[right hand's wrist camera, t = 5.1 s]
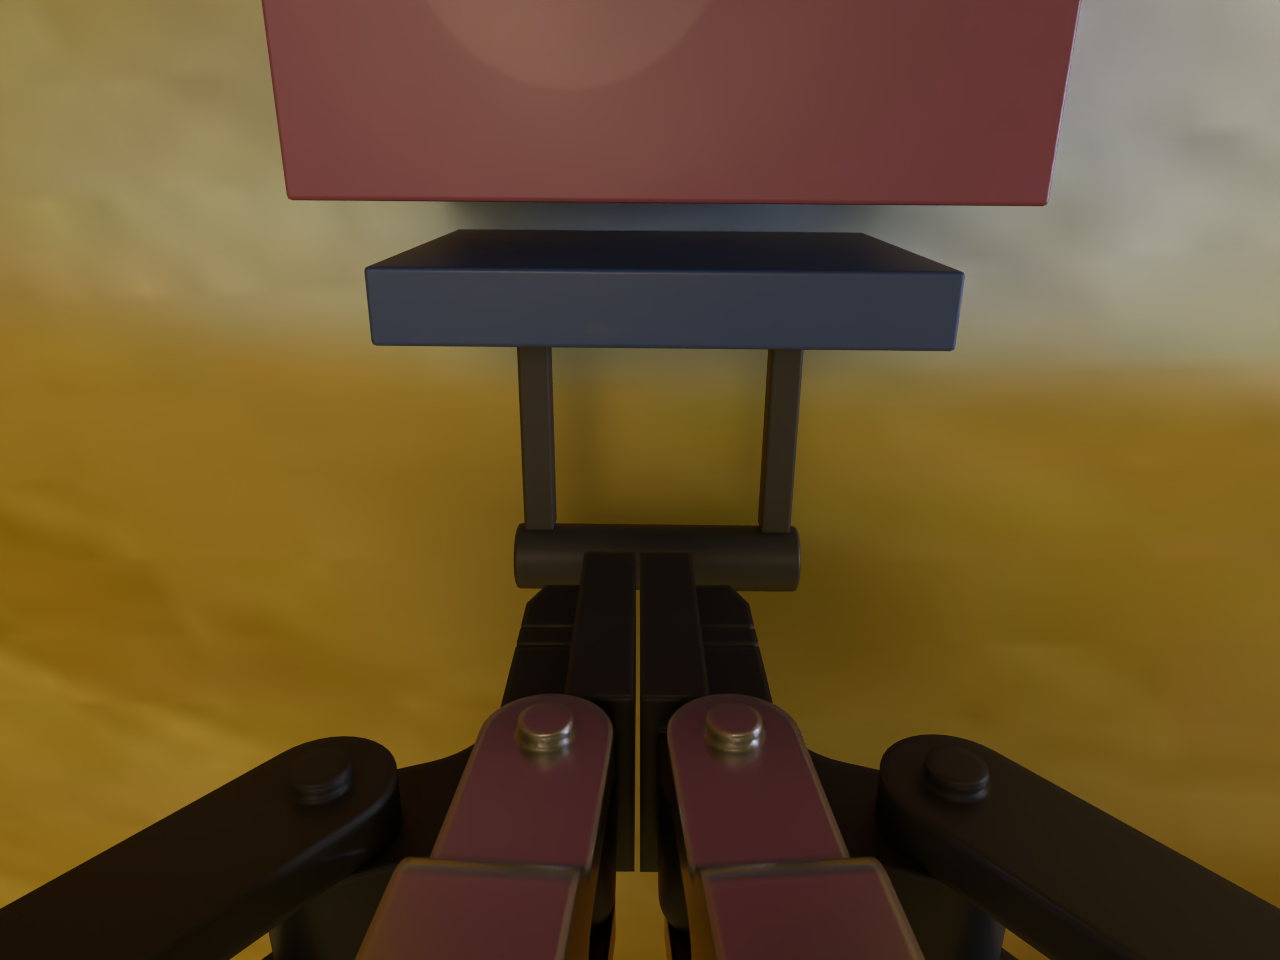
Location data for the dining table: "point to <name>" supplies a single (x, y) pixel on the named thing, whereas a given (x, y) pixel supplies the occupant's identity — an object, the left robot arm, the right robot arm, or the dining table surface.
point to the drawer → (663, 318)
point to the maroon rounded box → (671, 100)
